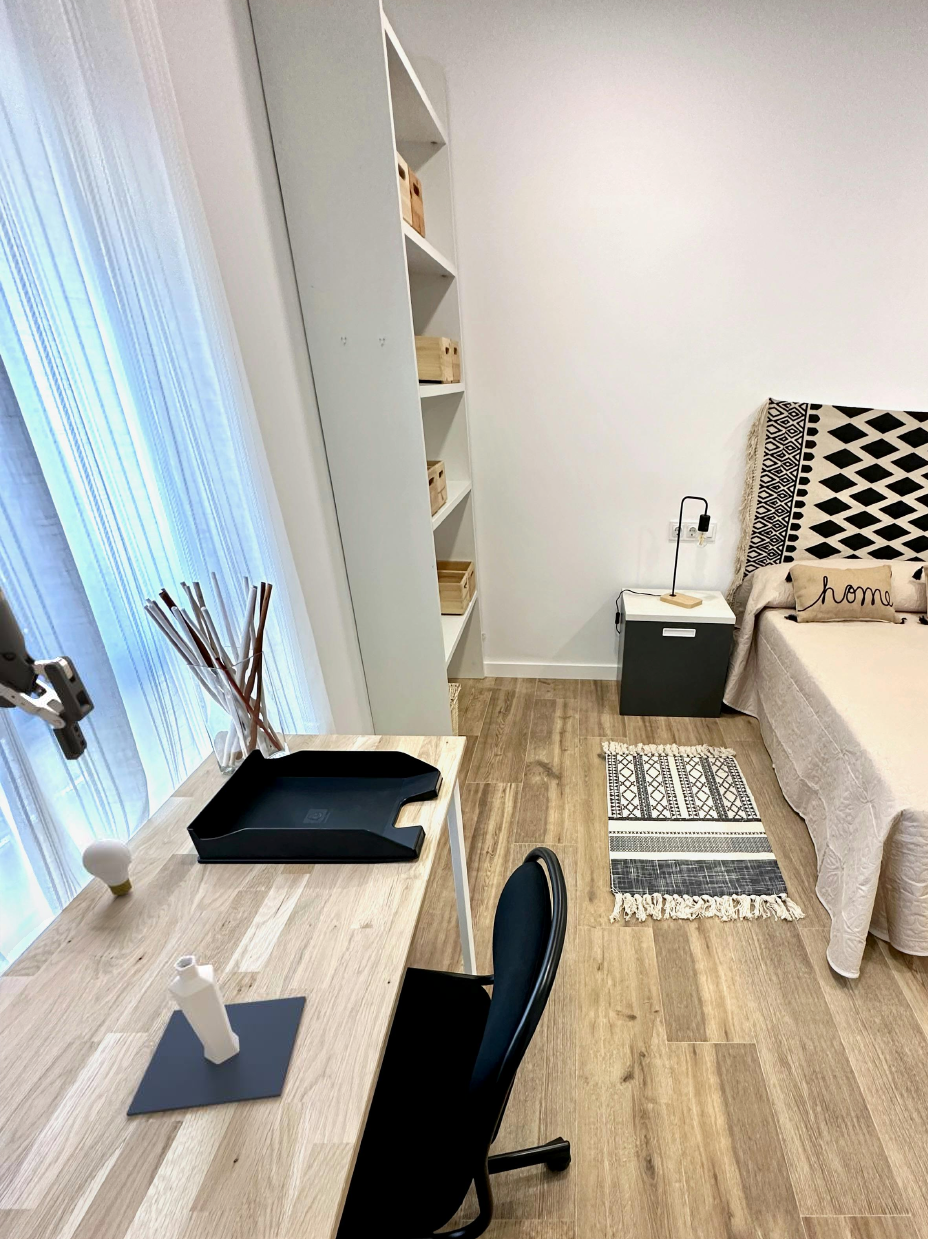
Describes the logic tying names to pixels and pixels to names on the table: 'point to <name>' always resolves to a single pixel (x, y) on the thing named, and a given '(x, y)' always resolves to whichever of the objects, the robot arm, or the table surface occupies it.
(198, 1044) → the cloth
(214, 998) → the perfume bottle
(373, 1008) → the table surface
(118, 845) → the light bulb
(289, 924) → the table surface
